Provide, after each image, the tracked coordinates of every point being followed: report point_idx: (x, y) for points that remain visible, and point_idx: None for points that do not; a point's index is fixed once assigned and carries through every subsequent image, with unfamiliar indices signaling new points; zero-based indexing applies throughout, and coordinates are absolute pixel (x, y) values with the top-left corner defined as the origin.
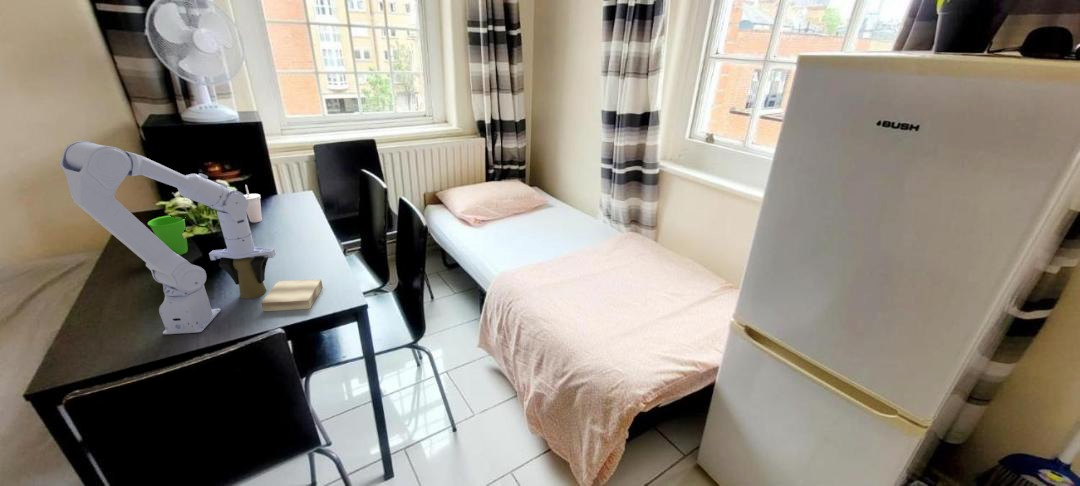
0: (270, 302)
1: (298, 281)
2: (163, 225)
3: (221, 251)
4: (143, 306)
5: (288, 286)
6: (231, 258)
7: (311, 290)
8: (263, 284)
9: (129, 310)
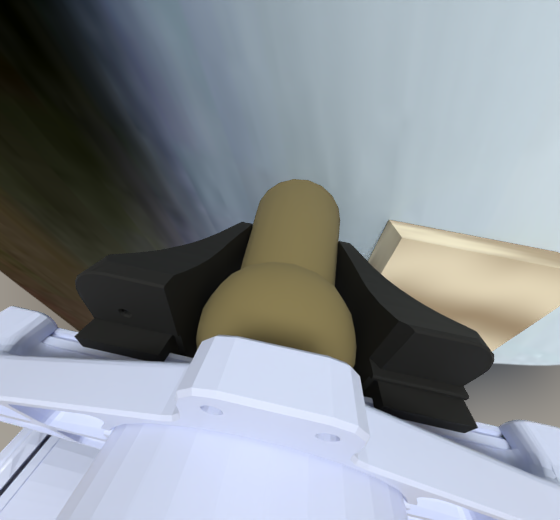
0: None
1: (490, 266)
2: None
3: (36, 422)
4: (28, 213)
5: (434, 290)
6: (175, 356)
7: (502, 335)
8: (338, 235)
9: (17, 225)
